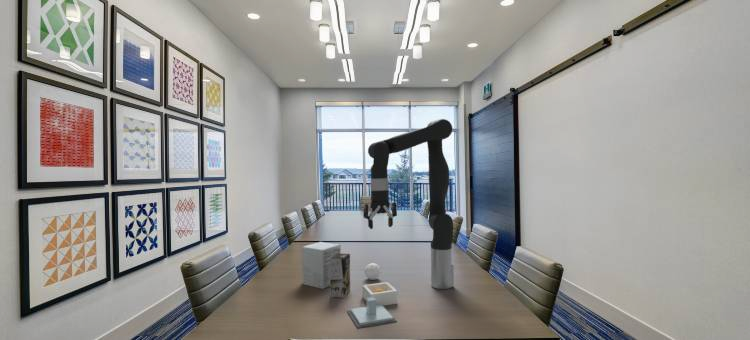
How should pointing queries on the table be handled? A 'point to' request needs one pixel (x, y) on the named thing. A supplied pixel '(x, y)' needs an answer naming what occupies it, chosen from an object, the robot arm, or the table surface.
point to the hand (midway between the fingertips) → (380, 227)
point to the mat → (369, 324)
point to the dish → (381, 293)
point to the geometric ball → (372, 271)
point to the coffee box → (339, 275)
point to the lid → (371, 313)
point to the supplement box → (318, 263)
